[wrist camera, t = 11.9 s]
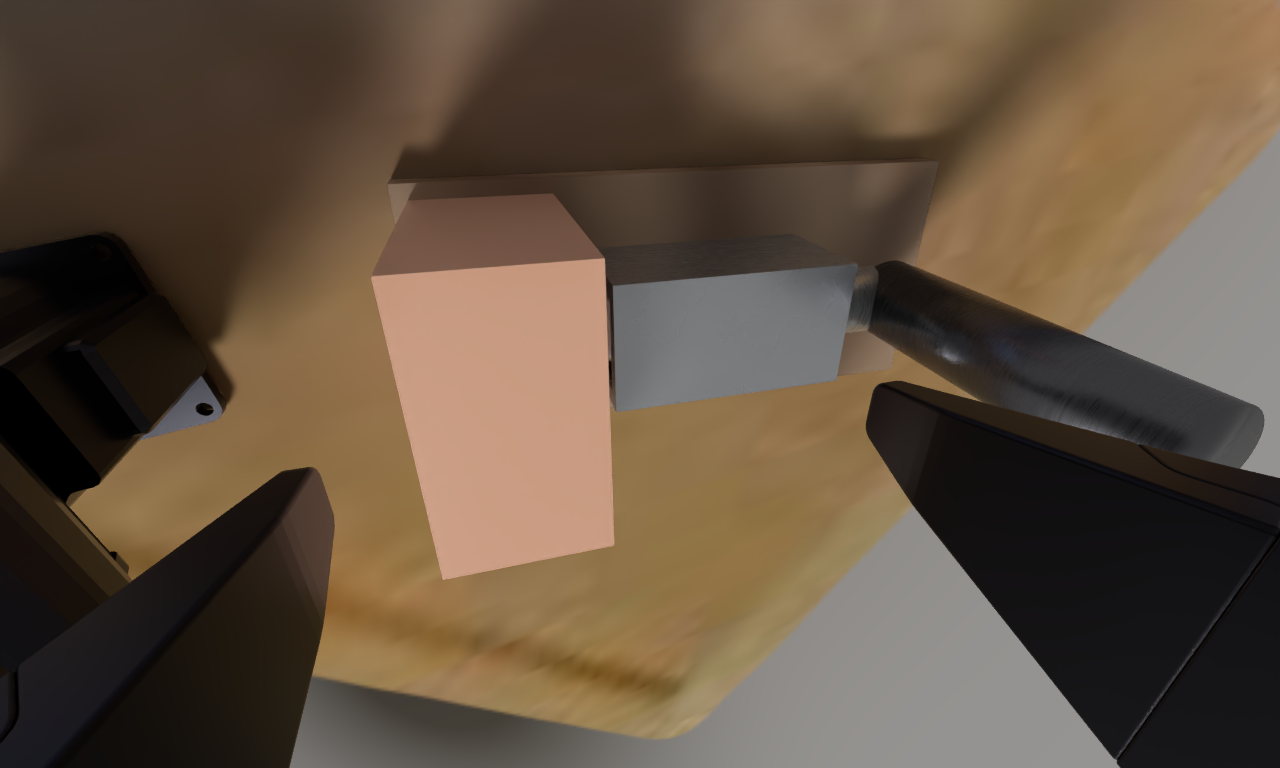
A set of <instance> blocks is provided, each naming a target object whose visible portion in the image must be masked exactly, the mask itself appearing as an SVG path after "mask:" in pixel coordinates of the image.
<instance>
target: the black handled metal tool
mask: <svg viewBox="0 0 1280 768" xmlns="http://www.w3.org/2000/svg"><path fill="white" fill-rule="evenodd" d="M606 307H607V338H608V362H611V329H610V297H609V295H608V294H607V292H606ZM859 331H868V332H869V333H871V334H873V335H874V336H876V337H878V338H879V339H881V340H882V341H884V342H886V343H887V344H889V345H891V346H892V347H894V348H895V349H897V350H899V351H900V352H902V353H903V354H905V355H907V356H908V357H910V358H912V359H913V360H915V361H916V362H918V363H920V364H921V365H923V366H925V367H926V368H928V369H929V370H931V371H933V372H934V373H936V374H938V375H939V376H941V377H942V378H944V379H946V380H947V381H949V382H951V383H952V384H954V385H955V386H957V387H959V388H960V389H962V390H964V391H965V392H967V393H968V394H970V395H972V396H973V397H975V398H977V399H978V400H980V401H981V402H983V403H987V404H991V405H995V406H998V407H1002V408H1006V409H1010V410H1014V411H1018V412H1021V413H1025V414H1029V415H1033V416H1037V417H1040V418H1044V419H1048V420H1052V421H1056V422H1059V423H1063V424H1067V425H1071V426H1075V427H1078V428H1082V429H1086V430H1090V431H1094V432H1097V433H1101V434H1105V435H1109V436H1113V437H1117V438H1120V439H1124V440H1128V441H1132V442H1134V443H1136V444H1137V445H1138V444H1144V445H1147V446H1151V447H1155V448H1159V449H1163V450H1166V451H1170V452H1174V453H1178V454H1182V455H1186V456H1190V457H1194V458H1198V459H1202V460H1206V461H1210V462H1214V463H1218V464H1222V465H1226V466H1230V467H1235V468H1239V469H1240V468H1241V466H1242V465H1243V464H1244V463H1245V462H1246V460H1247V459H1248V458H1249V456H1250V455H1251V453H1252V452H1253V450H1254V448H1255V447H1256V445H1257V443H1258V441H1259V439H1260V437H1261V434H1262V431H1263V427H1264V415H1263V412H1262V411H1261V410H1260V408H1259V407H1257V406H1255V405H1253V404H1250V403H1247V402H1245V401H1243V400H1240V399H1238V398H1235V397H1233V396H1230V395H1228V394H1226V393H1223V392H1221V391H1218V390H1216V389H1213V388H1211V387H1209V386H1206V385H1203V384H1201V383H1199V382H1196V381H1194V380H1191V379H1189V378H1186V377H1184V376H1182V375H1179V374H1177V373H1174V372H1172V371H1169V370H1167V369H1164V368H1162V367H1160V366H1157V365H1155V364H1152V363H1150V362H1147V361H1145V360H1142V359H1140V358H1137V357H1135V356H1133V355H1130V354H1128V353H1125V352H1123V351H1120V350H1118V349H1115V348H1113V347H1111V346H1108V345H1105V344H1103V343H1101V342H1098V341H1096V340H1093V339H1091V338H1088V337H1086V336H1084V335H1081V334H1079V333H1076V332H1074V331H1071V330H1069V329H1066V328H1064V327H1062V326H1059V325H1057V324H1054V323H1052V322H1049V321H1047V320H1044V319H1042V318H1039V317H1037V316H1035V315H1032V314H1030V313H1027V312H1025V311H1022V310H1020V309H1017V308H1015V307H1013V306H1010V305H1008V304H1005V303H1003V302H1000V301H998V300H995V299H993V298H990V297H988V296H986V295H983V294H981V293H978V292H976V291H973V290H971V289H968V288H966V287H963V286H961V285H959V284H956V283H954V282H951V281H949V280H946V279H944V278H941V277H939V276H937V275H934V274H932V273H929V272H927V271H924V270H922V269H919V268H917V267H914V266H912V265H910V264H907V263H905V262H902V261H897V260H892V261H887V262H883V263H881V264H879V265H874V266H864V267H857V272H856V277H855V283H854V288H853V293H852V299H851V304H850V309H849V315H848V320H847V325H846V331H845V333H851V332H859Z"/></svg>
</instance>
